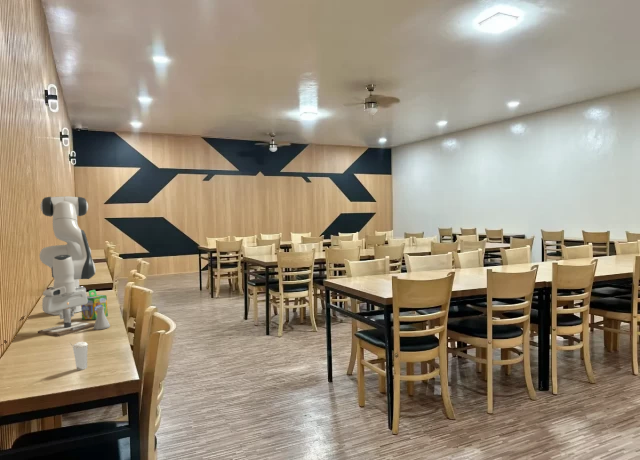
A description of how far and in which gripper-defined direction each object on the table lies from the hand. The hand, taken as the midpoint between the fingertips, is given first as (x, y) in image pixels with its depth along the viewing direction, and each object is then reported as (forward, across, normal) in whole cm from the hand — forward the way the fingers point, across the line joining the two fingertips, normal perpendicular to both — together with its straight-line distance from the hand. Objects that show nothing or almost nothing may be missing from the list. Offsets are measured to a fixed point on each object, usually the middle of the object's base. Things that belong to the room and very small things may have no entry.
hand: (67, 317), depth 208 cm
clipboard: (+6, 0, 0) cm, 6 cm away
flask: (+6, -8, +14) cm, 17 cm away
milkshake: (+6, +34, +60) cm, 69 cm away
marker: (+4, 0, 0) cm, 4 cm away
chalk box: (+6, -22, -10) cm, 25 cm away
